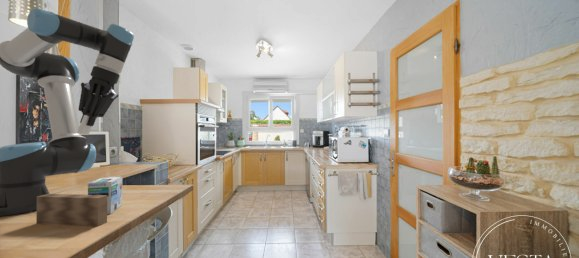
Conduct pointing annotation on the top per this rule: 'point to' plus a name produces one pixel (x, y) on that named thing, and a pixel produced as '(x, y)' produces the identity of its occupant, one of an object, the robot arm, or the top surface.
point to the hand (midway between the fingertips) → (82, 133)
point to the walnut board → (72, 209)
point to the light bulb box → (108, 191)
